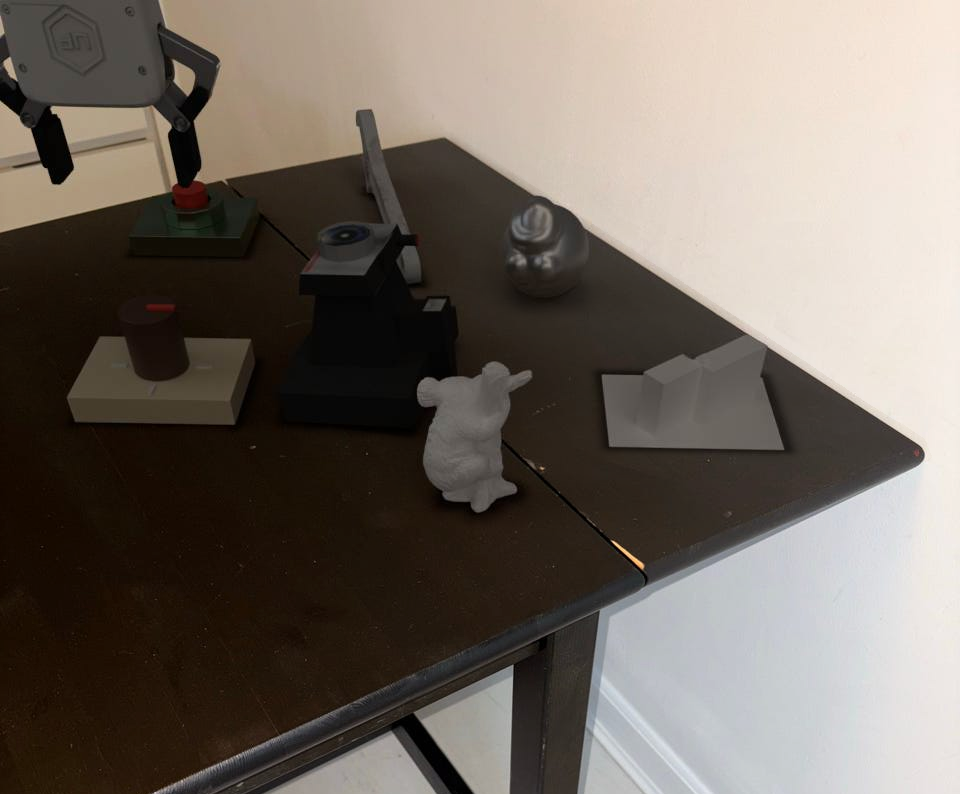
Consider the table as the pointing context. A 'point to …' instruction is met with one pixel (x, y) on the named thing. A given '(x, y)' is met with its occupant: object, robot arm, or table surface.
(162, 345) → the dial
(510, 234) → the dark grey rounded lump
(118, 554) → the table surface
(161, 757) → the table surface
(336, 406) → the camera
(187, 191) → the button
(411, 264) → the wrench
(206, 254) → the button block
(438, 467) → the animal figurine
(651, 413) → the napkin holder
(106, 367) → the panel
